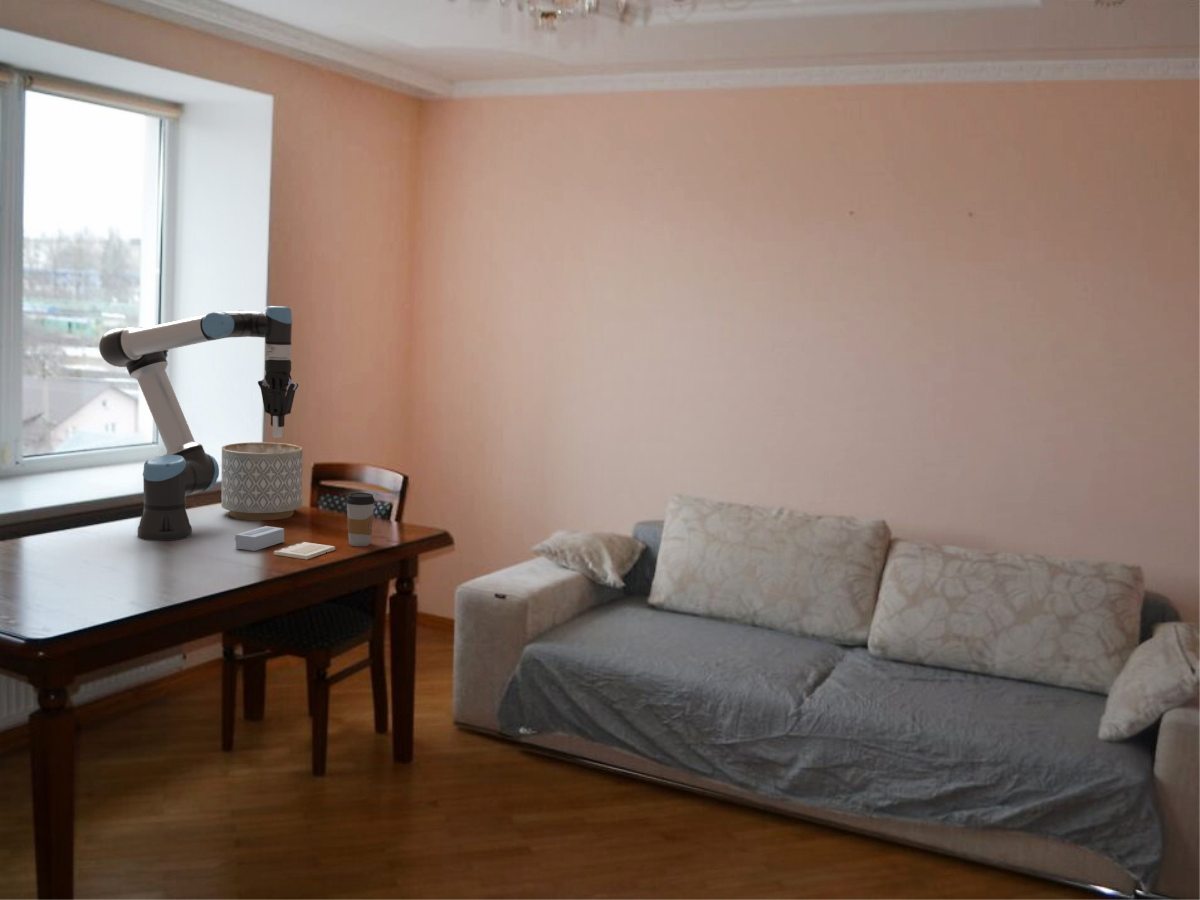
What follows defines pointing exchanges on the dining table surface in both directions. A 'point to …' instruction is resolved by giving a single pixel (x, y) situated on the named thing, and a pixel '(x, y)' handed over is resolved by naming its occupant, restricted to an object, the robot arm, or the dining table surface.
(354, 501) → the coffee cup
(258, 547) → the grey slotted block
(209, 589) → the dining table surface
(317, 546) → the cream rectangular plate
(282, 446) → the planter
